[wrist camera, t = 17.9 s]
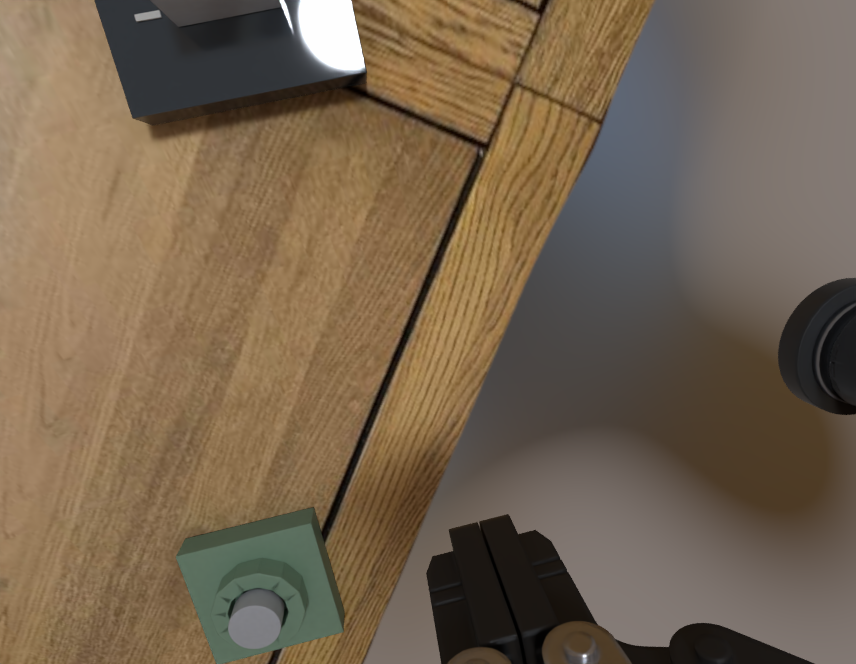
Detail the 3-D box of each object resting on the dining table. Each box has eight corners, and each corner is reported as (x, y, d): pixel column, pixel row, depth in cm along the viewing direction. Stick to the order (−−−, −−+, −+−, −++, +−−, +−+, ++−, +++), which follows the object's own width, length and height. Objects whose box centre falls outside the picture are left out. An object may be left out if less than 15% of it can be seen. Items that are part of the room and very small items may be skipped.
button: (277, 582, 39) (273, 600, 37) (290, 622, 40) (286, 641, 38) (227, 595, 39) (221, 613, 37) (241, 635, 39) (236, 654, 38)
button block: (313, 506, 42) (308, 537, 38) (344, 611, 44) (342, 650, 40) (185, 538, 41) (166, 573, 37) (223, 642, 43) (210, 685, 40)
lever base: (329, -92, 32) (325, -122, 29) (366, 83, 35) (366, 71, 32) (96, -51, 32) (67, -78, 29) (152, 125, 34) (131, 118, 31)
